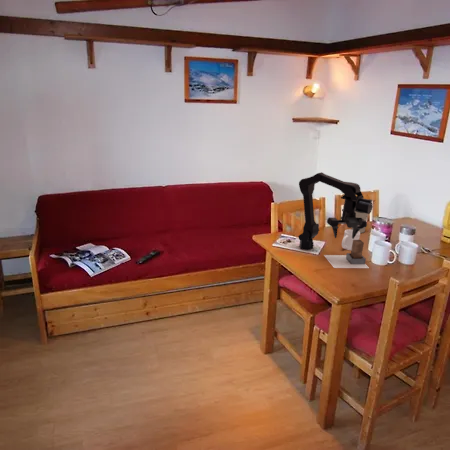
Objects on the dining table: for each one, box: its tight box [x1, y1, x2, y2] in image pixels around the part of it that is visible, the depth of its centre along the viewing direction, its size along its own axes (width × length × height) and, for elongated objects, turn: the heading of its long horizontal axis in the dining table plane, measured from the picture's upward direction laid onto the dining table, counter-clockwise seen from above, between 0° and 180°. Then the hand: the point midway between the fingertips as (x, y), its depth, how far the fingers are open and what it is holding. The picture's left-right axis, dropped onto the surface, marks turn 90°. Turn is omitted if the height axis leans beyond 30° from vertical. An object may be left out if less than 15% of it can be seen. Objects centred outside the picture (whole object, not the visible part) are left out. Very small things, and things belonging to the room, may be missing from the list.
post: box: [350, 239, 365, 258], centre depth 205 cm, size 4×4×11 cm
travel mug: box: [351, 209, 368, 234], centre depth 253 cm, size 8×8×18 cm
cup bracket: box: [345, 252, 367, 264], centre depth 206 cm, size 7×7×3 cm
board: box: [323, 254, 370, 269], centre depth 206 cm, size 18×16×1 cm
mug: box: [341, 229, 361, 251], centre depth 222 cm, size 12×8×10 cm
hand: (344, 238), depth 205 cm, fingers open, 9 cm apart
